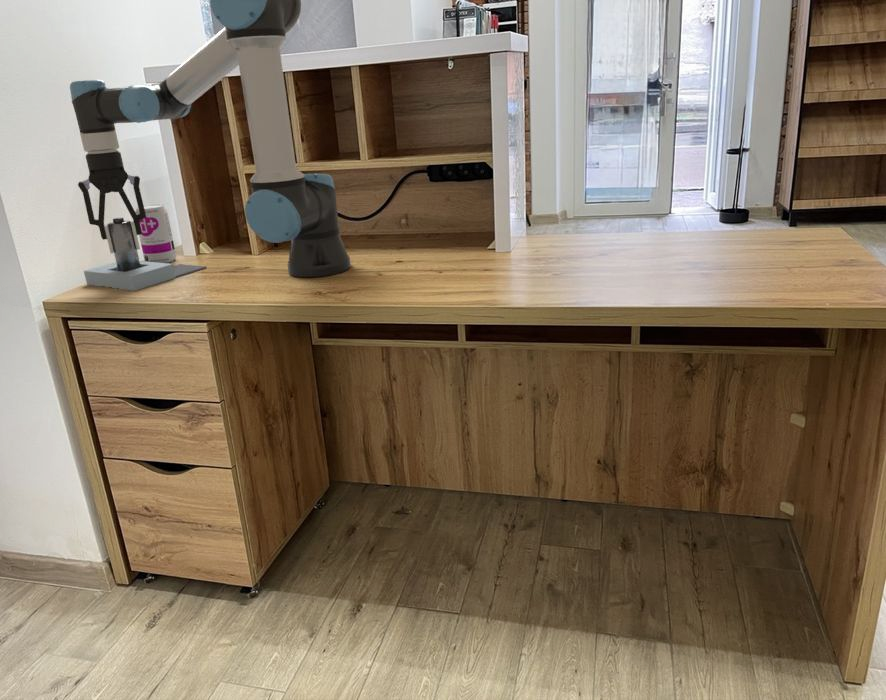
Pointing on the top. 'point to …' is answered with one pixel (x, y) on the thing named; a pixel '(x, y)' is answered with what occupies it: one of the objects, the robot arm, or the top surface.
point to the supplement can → (156, 235)
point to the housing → (130, 275)
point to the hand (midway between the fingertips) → (125, 250)
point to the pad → (186, 269)
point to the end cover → (123, 245)
